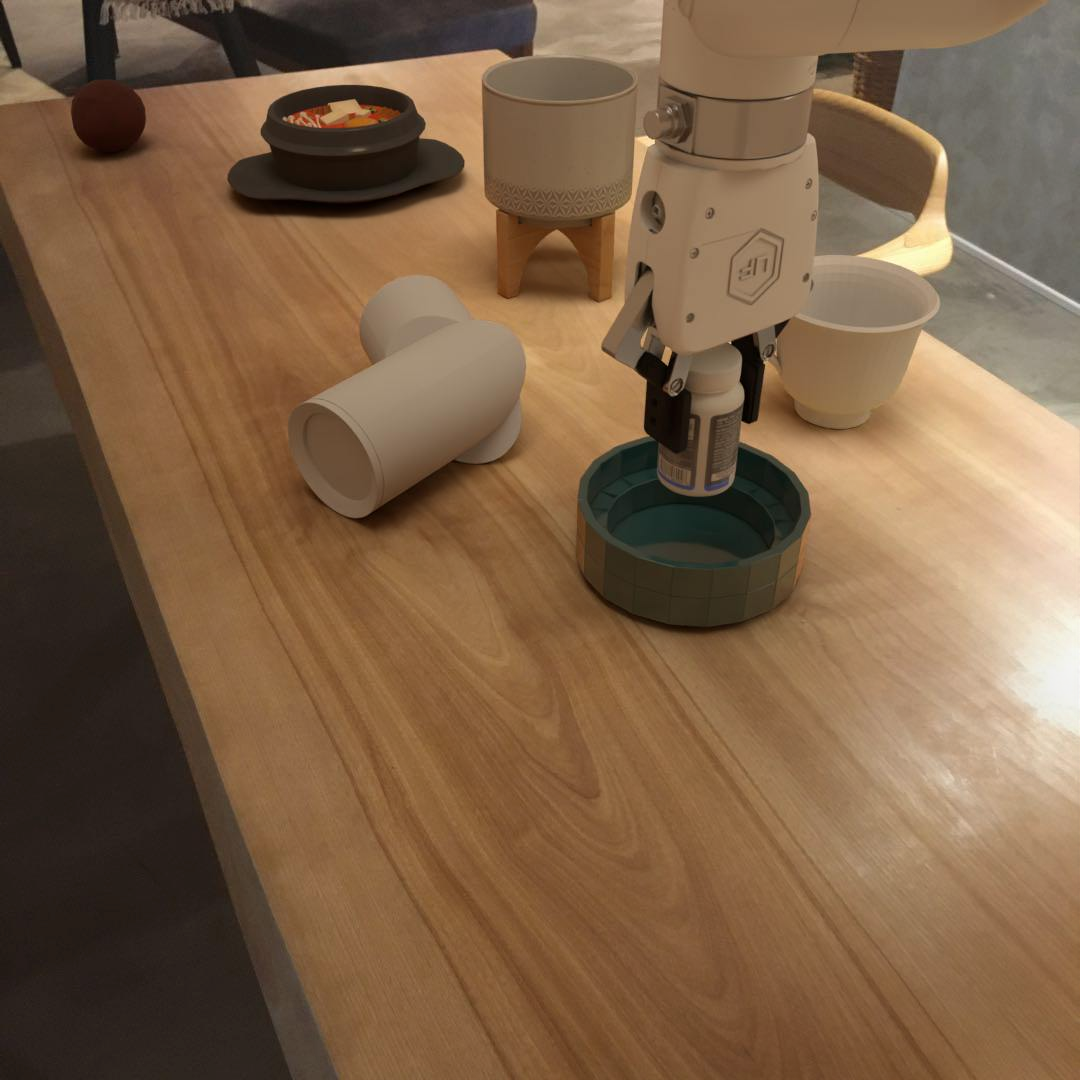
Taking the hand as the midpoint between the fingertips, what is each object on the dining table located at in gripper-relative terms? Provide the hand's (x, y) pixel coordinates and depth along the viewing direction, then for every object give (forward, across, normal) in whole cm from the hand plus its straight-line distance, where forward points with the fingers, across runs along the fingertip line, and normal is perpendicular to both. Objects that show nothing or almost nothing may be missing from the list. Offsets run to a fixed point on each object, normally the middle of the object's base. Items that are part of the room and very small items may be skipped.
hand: (700, 424), depth 69 cm
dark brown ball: (+10, -5, +94) cm, 94 cm away
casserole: (+10, +12, +69) cm, 71 cm away
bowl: (+10, 0, 0) cm, 10 cm away
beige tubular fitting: (+10, -8, +22) cm, 26 cm away
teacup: (+10, +20, +8) cm, 24 cm away
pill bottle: (+4, 0, 0) cm, 4 cm away
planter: (+10, +17, +39) cm, 44 cm away
